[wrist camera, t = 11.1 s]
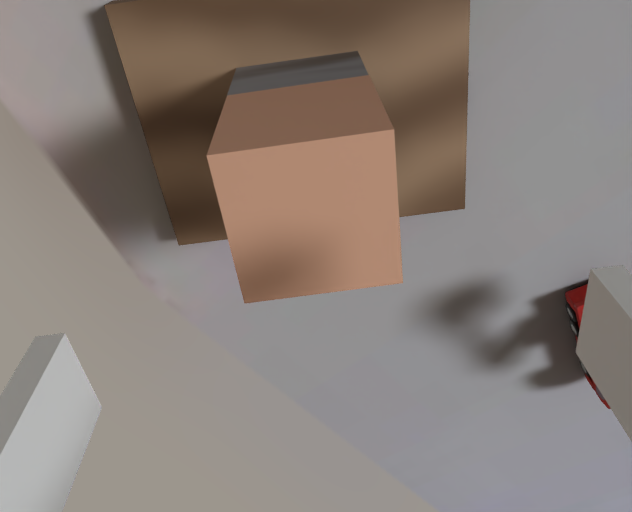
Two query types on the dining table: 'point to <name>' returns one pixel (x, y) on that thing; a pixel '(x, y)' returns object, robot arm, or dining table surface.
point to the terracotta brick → (308, 189)
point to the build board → (282, 29)
